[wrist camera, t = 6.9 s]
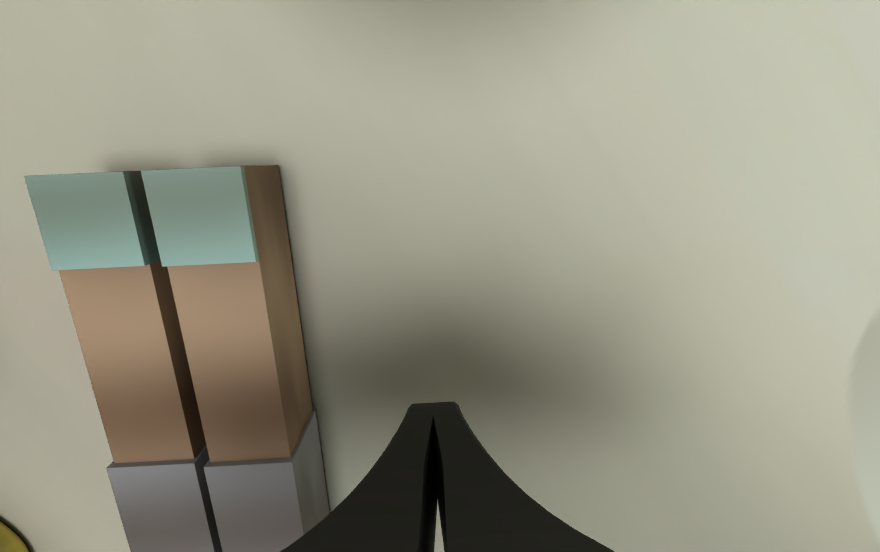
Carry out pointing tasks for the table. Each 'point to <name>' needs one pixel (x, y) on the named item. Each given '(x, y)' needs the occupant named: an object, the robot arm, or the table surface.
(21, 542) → the vase
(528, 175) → the table surface
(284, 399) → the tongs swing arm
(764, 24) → the table surface
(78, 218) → the tongs fixed arm
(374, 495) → the robot arm
